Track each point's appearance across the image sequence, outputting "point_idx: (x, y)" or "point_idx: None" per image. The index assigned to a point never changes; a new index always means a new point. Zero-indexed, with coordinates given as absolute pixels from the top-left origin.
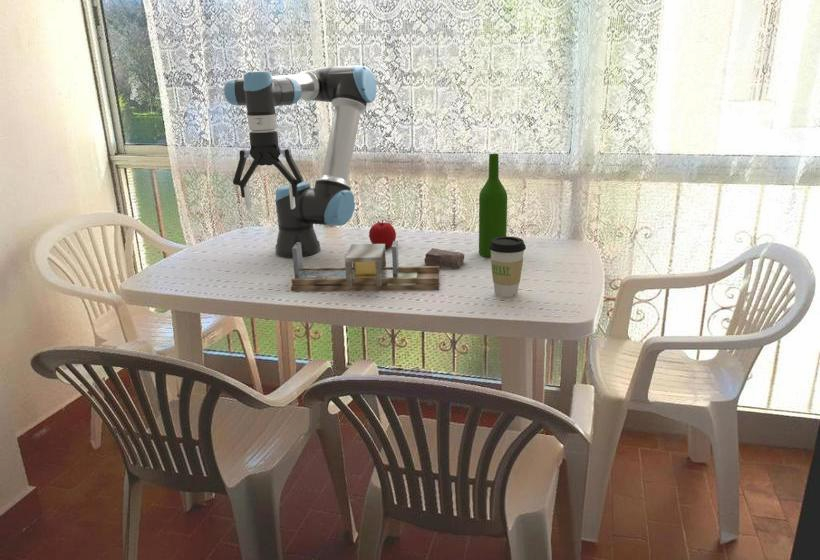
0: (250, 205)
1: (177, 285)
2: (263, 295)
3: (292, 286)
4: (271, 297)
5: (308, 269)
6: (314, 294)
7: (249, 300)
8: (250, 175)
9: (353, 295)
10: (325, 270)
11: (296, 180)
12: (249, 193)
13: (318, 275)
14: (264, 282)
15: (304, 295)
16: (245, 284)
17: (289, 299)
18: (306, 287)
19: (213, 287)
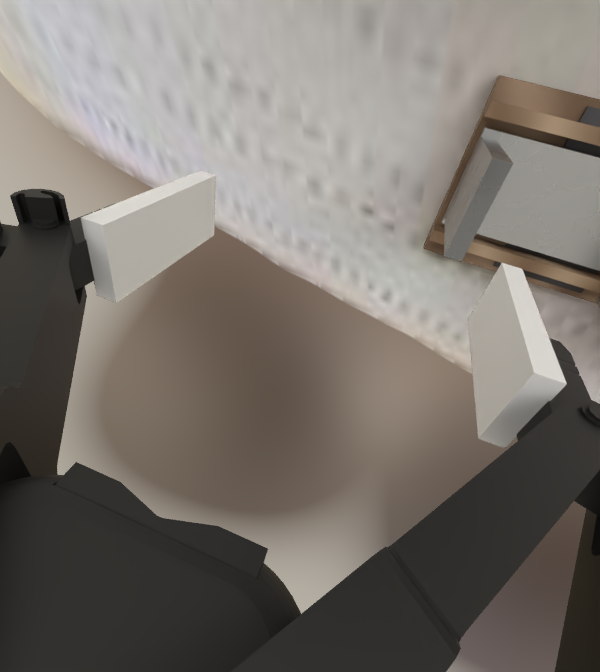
0: (205, 201)
1: (112, 89)
2: (348, 252)
3: (429, 246)
4: (367, 273)
5: (523, 125)
6: (481, 291)
7: (316, 274)
8: (66, 346)
9: (587, 335)
10: (588, 158)
11: (588, 505)
12: (154, 218)
13: (534, 213)
14: (352, 134)
15: (453, 289)
16: (295, 138)
17: (409, 301)
18: (469, 262)
19: (212, 141)
